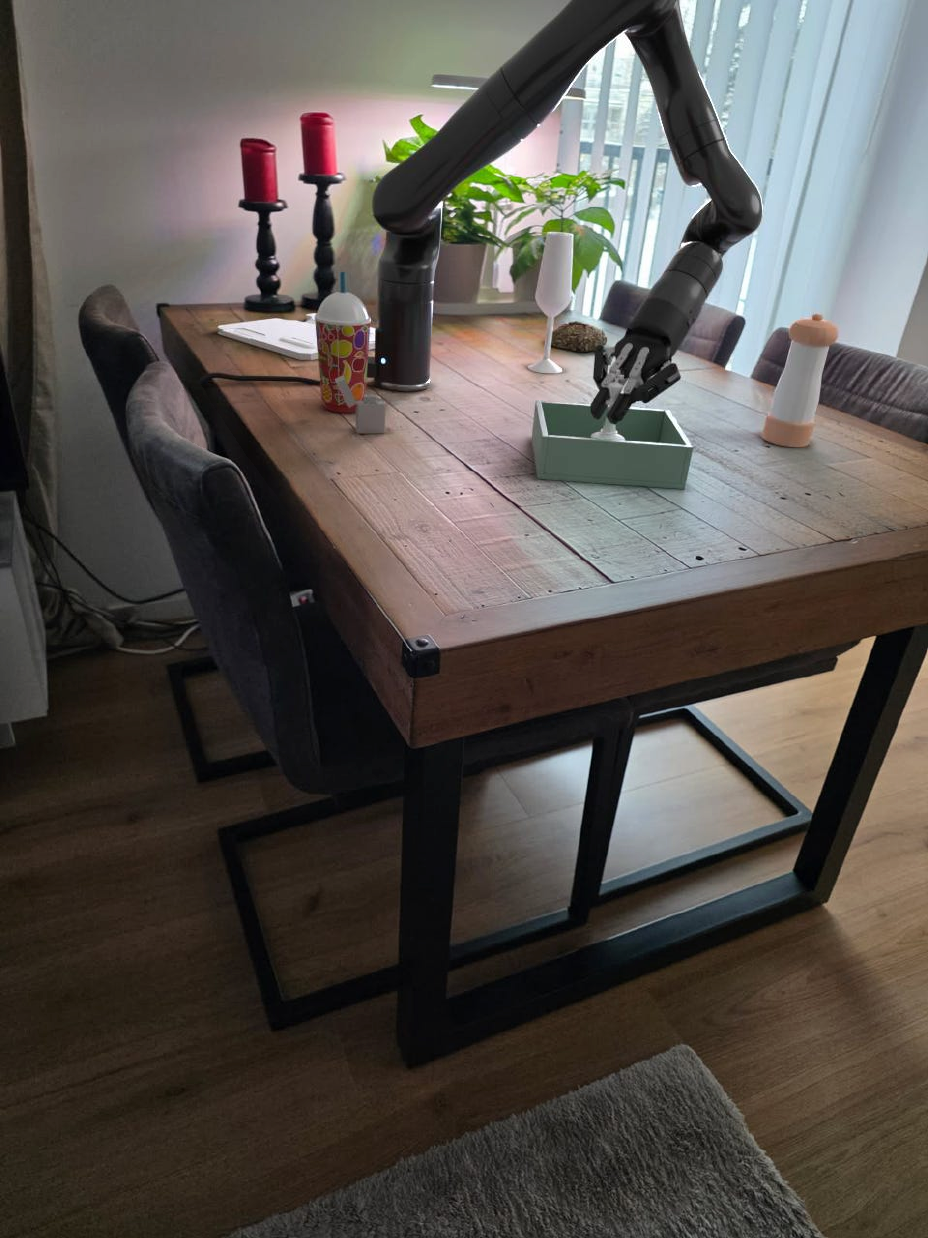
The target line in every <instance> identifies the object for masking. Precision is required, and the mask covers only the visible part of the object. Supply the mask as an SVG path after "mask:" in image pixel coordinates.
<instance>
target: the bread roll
mask: <svg viewBox="0 0 928 1238" xmlns="http://www.w3.org/2000/svg"><path fill="white" fill-rule="evenodd" d="M607 343H608V337H607V336H606V333H605V332H604V330H601V329H599V328H597V327H596V326H594V325H592V324H589V323H583V322H581V321H577V320H575V321H570V322H568V323H563V324H561V325H560V326H558V327H557V328H555V329H554V330H552V339H551V346H552V347H554V348H558V349H561V350H562V349H563V350H567V351H571V352H576V353H590V352H595V348H596V347H597V346H598V345H602V346H603V347H604V346H606V345H607Z"/></svg>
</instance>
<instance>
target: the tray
mask: <svg viewBox="0 0 928 1238" xmlns="http://www.w3.org/2000/svg"><path fill="white" fill-rule="evenodd" d="M317 313H318V312H317ZM317 313H314V312H313V313H306V320H305V321H300V320H296V319H293V320H290V319H283V318H278V317H275V318H267V319H259V320H258V319H257V320H251V321H242V322H236V323H229V324H228V323H227V324H219V325H218V326H217V329H218V332H217V334H218V335H220V336H224V337H227V338H230V339H233V340H235V341H236V340H237V341H239V342H241V343H242V342H243V343H245V344H249V345H252V346H255V347H258V348H261V349H265V350H267V351H271V352H274V353H277V354H280V355H284V356H287V357H289V358H293V359H297V360H301V361H302V360H303V361H315V360H318V349H317V336H316V321H315V314H317ZM375 330H376V328H375V327H372V326H370V337H369V351H370V350H375Z"/></svg>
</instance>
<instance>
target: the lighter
mask: <svg viewBox="0 0 928 1238" xmlns="http://www.w3.org/2000/svg"><path fill="white" fill-rule="evenodd" d="M335 381H336V383H337V385H338V387H339V389H340V391H341V393H342V395H343V397H344V399H345V401H346V403H347V405H348V407H349V408H350V407H352V406H354V405H356V412H355V432H356V434H360V435H361V434H385V433H386V409H387V407H386V402H385V400H381V397H380V396H379V395H377V394H366V395H364V401H355V399H354V397H353V395H352V392H351V390H350V388H349V386H348V384H347V382H346V380H345V378H344V376H343V375H342V376H340V377H338V378H336V379H335Z"/></svg>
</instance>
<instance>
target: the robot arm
mask: <svg viewBox="0 0 928 1238" xmlns="http://www.w3.org/2000/svg"><path fill="white" fill-rule="evenodd" d="M681 12H682V11H681V5H680V0H570V1H568V3H567V4H566V5H565V6H563V8H562V9H561V10H560V11H559V12H558V13H557V14H556V15H555V16H554V17H553V18H552V19H551V20H550V21H549V22H547V23H546V24H545V25H544V26H543V27H542V28H541V29H540V30H539V31H538V32H536V33H535V34H534V35H533V36H532V37H531V38H530V39H529V40H528V41H527V42H526V43H525V44H524V45H523V46H521V47H520V49H519V50H518V51H516V52H515V53H514V54H513V55H512V56H510V58H509V59H508V60H506V61H504V63H503V64H501V66H500V67H499V68H498V69H496V71H495V72H493V74H491V75H490V76H489V77H488V78H487V79H486V80H485V81H484V82H483V83H482V84H481V85H480V86H479V87H478V88H477V89H476V90H475V92H473V93H472V95H470V96H469V97H468V99H467V100H466V101H464V103H462V105H460V107H458V109H457V110H456V111H455V112H454V113H453V114H452V115H451V116H450V117H449V119H448V120H447V121H446V122H445V123H444V124H443V126H442V127H440V129H439V130H438V131H437V132H436V133H435V134H434V135H433V136H432V137H431V138H430V139H429V140H428V141H426V142H425V143H424V144H423V145H422V146H421V147H419V148H418V149H417V150H415V152H413V153H412V154H410V155H409V156H408V157H407V158H406V159H403V160H402V161H401V162H400V163H398V164H397V165H396V166H395V167H393V168H392V169H390V170H389V171H388V172H387V173H385V174H384V175H383V176H382V177H381V178H380V179H379V181H378V182H377V183H376V186H375V188H374V191H373V192H372V198H371V210H372V215H373V218H374V220H375V221H376V223H377V225H378V227H380V228H381V229H382V230H384V231H385V241H384V246H383V250H382V253H381V255H380V256H379V259H378V263H377V294H376V296H377V298H376V300H377V302H376V328H375V329H376V330H375V349H374V356H369V355H368V366H367V378H369V379H373V380H374V381H373V385H374V386H373V387H375V388H383V389H385V390H389V391H390V390H391V391H396V392H417V391H423V390H427V389H428V388H430V386H431V385H430V384H431V379H430V378H431V357H432V353H431V352H432V335H433V333H432V332H433V315H434V314H433V313H434V292H435V272H436V267H437V264H438V261H439V256H440V247H441V235H442V233H441V232H442V220H443V219H442V218H443V201H444V200H445V199H446V198H447V197H448V196H449V195H450V194H451V193H452V192H453V191H454V190H455V189H456V188H457V187H458V186H459V185H460V184H462V183H463V182H464V181H465V180H467V179H468V178H470V177H471V176H474V174H476V173H478V172H480V171H481V170H482V169H484V168H486V167H488V166H489V165H490V164H492V163H494V162H496V161H497V160H499V159H500V158H502V157H503V156H504V155H506V154H507V153H508V152H510V151H511V150H513V149H514V148H515V147H517V146H518V145H519V144H520V143H521V142H523V141H524V140H525V139H526V138H527V137H528V136H530V134H532V132H534V131H535V130H536V129H538V128H539V127H540V125H542V124H543V123H544V122H545V121H546V120H547V119H548V118H549V116H551V114H552V113H553V112H554V111H555V110H556V108H557V107H558V106H559V104H560V103H561V101H562V100H563V99H564V98H565V96H566V95H567V93H568V91H569V90H570V88H571V87H572V85H573V84H574V82H575V81H576V80H577V78H578V77H579V75H580V73H582V71H583V70H584V68H585V67H586V66H587V65H588V64H589V63H590V61H591V60H592V59H594V58H595V57H596V56H597V55H598V54H599V53H600V52H601V51H602V50H604V48H606V47H607V46H608V45H609V44H611V43H612V42H613V41H614V40H616V39H617V38H618V37H619V36H621V35H622V34H624V35H625V36H626V38H627V40H628V41H629V43H630V45H631V46H632V48H633V51H634V52H635V54H636V55H637V57H638V58H639V61H640V63H641V65H642V67H643V69H644V72H645V74H646V76H647V79H648V82H649V84H650V87H651V90H652V94H653V98H654V101H655V104H656V108H657V112H658V115H659V121H660V123H661V126H662V130H663V134H664V136H665V139H666V142H667V144H668V147H669V151H670V152H671V155H672V157H673V161H674V164H675V165H676V168H677V171H678V173H679V176H680V178H681V181H683V184H685V185H686V186H687V187H688V186H689V187H697V186H700V185H701V186H702V187H703V188H704V190H705V191H706V193H707V194H708V196H709V198H710V199H709V200H708V201H707V202H705V203H704V204H703V205H701V206H700V208H698V210H697V211H696V212H695V213H694V215H693V216H692V217H691V219H690V221H689V223H688V224H687V226H686V229H685V230H684V233H683V236H682V238H681V240H680V243H679V245H678V248H677V251H676V253H675V254H674V256H673V257H672V258H671V260H670V262H669V263H668V265H667V267H666V268H665V269H664V271H663V273H662V274H661V276H660V277H659V278H658V280H657V281H656V282H655V283H654V284H653V286H652V287H651V288H650V290H649V292H648V293H647V295H646V297H645V298H644V299H643V301H642V302H641V304H640V306H639V307H638V309H637V311H636V312H635V314H634V315H633V317H632V319H631V320H630V322H629V324H628V325H627V328H626V331H625V334H624V336H622V338H621V339H619V340H617V342H616V343H615V345H614V346H610V347H606V348H605V347H604V346H602V345H598V346H597V347H596V348H595V350H594V359H593V360H594V361H593V372H592V380H593V381H594V383H595V385H596V387H597V389H598V392H597V394H596V395H595V397H594V398H593V400H592V402H591V403H590V409H591V414H592V416H593V417H594V418H595V419H598V420H599V419H600V418H601V417H602V415H603V414H604V412H605V410H606V409H607V407H608V406H609V405H608V404H606V403H605V402H606V400H609V399H610V392H609V387H608V385H609V384H610V383H613V382H615V378H611V374H616V372H617V370H620V374H619V375H624V379H619V380H618V383H620V384H622V385H623V386H624V387H623V389H622V391H623V393H622V392H621V393H620V394H619V396H618V397H617V399H616V400H615V402H614V404H613V405H612V407H611V408H610V410H609V412H608V414H607V418H608V420H609V422H610V423H611V424H614V425H616V424H617V422H618V421H619V422H620V421H621V420H622V419H623V418H624V416H625V415H626V413H627V411H628V410H629V408H630V407H631V408H632V405H634V404H636V403H637V402H641V403H643V404H648V403H649V402H651V401H653V400H654V399H655V398H656V397H658V396H659V395H661V394H663V393H664V392H665V391H666V390H668V389H669V388H671V387H672V386H673V385H675V384H677V382H679V381H680V380H681V378H682V375H681V372H680V369H679V367H678V365H677V363H675V362H672V361H673V357H674V356H675V355H676V354H677V352H678V350H679V348H680V347H681V346H682V344H683V342H684V341H685V338H686V337H687V335H688V334H689V332H690V331H691V329H692V327H693V326H694V324H695V323H696V321H697V320H698V318H699V316H700V314H701V312H702V309H703V307H704V305H705V303H706V301H707V300H708V298H709V296H710V295H711V293H712V291H713V290H714V288H715V287H716V285H717V283H718V282H719V280H720V278H721V276H722V274H723V273H722V272H723V270H724V260H723V258H724V256H725V255H726V254H727V252H728V251H729V250H730V249H731V248H732V247H734V246H735V245H737V244H738V243H740V242H742V241H743V240H745V239H747V238H748V237H750V236H751V235H753V234H754V232H756V231H757V230H758V228H759V227H760V225H761V223H762V221H763V220H762V219H763V211H764V208H763V199H762V196H761V194H760V191H759V189H758V186H757V185H756V184H755V182H754V181H753V179H752V178H751V176H750V175H749V174H748V172H747V171H746V170H745V168H744V167H743V165H742V164H741V163H740V161H739V160H738V158H737V157H736V156H735V155H734V153H733V152H732V151H731V149H730V147H729V143H728V141H727V137H726V135H725V132H724V129H723V126H722V124H721V121H720V119H719V116H718V113H717V111H716V108H715V106H714V104H713V101H712V98H711V96H710V94H709V91H708V90H707V87H706V86H705V83H704V81H703V78H702V76H701V75H700V72H699V70H698V67H697V65H696V62H695V60H694V57H693V53H692V51H691V48H690V45H689V42H688V38H687V34H686V29H685V26H684V21H683V17H682V16H683V15H682V13H681ZM613 359H615V361H614V362H613ZM612 362H613V363H612ZM609 366H610V367H609ZM212 379H223V380H229V381H235V382H278V383H279V382H280V383H300V384H305V385H306V384H307V385H310V386H311V385H312V386H320V380H318V379H312V378H308V377H302V376H291V375H290V376H289V375H287V376H286V375H238V374H230V373H226V372H216V371H215V372H210V373H207V374H205V375H203V376H201V378H199V379H198V380H197V382H196V385H204V384H205V383H207V382H208V381H209V380H212Z"/></svg>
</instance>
